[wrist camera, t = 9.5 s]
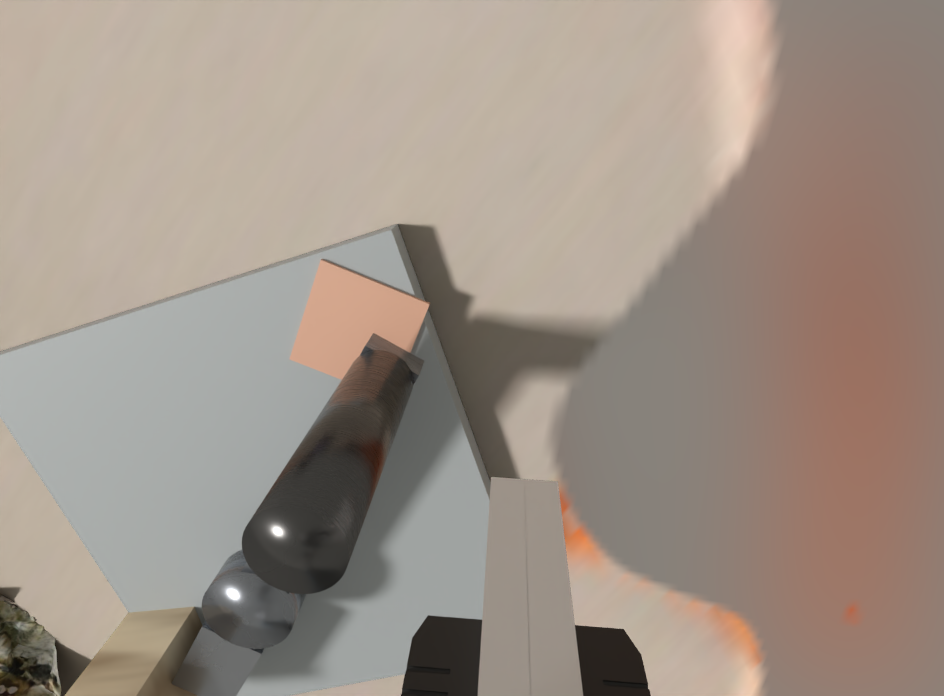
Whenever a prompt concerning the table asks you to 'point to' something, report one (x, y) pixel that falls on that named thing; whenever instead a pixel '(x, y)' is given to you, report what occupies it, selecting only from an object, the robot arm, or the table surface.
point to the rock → (26, 655)
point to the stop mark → (352, 319)
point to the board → (251, 461)
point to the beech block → (142, 655)
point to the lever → (302, 523)
